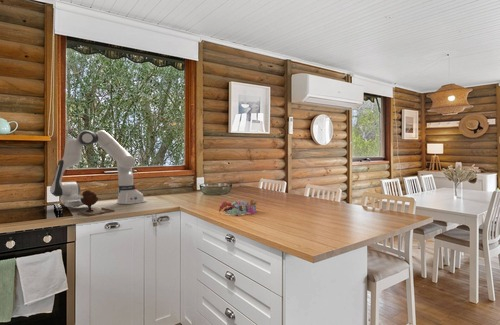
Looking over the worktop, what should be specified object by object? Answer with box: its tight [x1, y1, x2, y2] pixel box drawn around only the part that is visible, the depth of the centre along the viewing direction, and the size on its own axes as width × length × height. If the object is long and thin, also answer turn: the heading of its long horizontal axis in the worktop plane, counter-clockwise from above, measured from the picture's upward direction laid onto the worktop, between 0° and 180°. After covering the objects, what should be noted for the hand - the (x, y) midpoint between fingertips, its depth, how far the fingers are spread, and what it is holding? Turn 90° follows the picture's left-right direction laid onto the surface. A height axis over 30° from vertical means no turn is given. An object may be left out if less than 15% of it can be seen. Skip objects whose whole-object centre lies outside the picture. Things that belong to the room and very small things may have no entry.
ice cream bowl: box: [81, 189, 99, 213], centre depth 210 cm, size 11×11×15 cm
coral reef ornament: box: [218, 198, 258, 215], centre depth 208 cm, size 25×24×9 cm
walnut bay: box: [76, 207, 115, 217], centre depth 207 cm, size 18×14×1 cm
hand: (86, 202), depth 213 cm, fingers closed, pressing on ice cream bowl
